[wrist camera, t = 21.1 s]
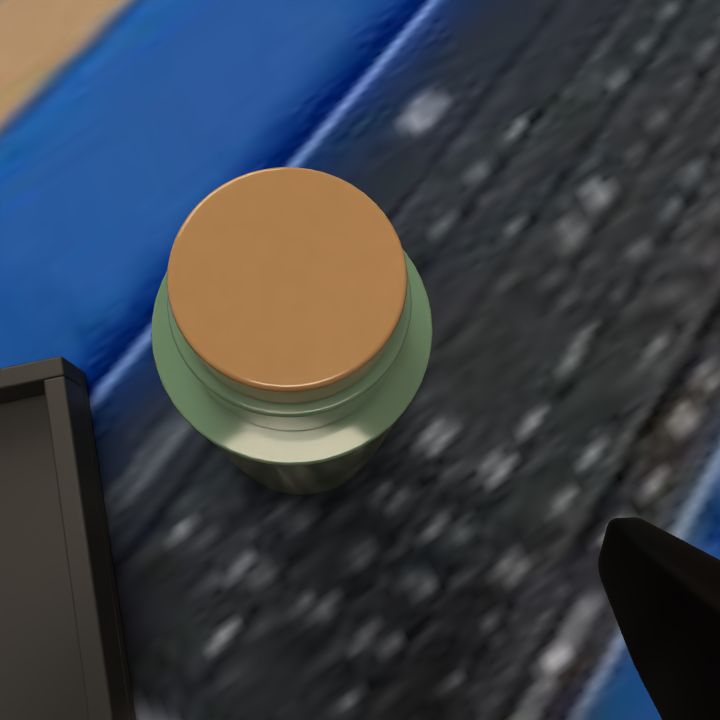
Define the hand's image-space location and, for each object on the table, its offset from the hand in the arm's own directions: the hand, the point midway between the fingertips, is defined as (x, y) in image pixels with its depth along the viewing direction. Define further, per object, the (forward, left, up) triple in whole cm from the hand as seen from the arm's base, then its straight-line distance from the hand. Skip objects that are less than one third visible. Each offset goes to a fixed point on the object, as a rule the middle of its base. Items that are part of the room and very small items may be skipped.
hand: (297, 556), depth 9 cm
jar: (+4, -1, -11) cm, 12 cm away
